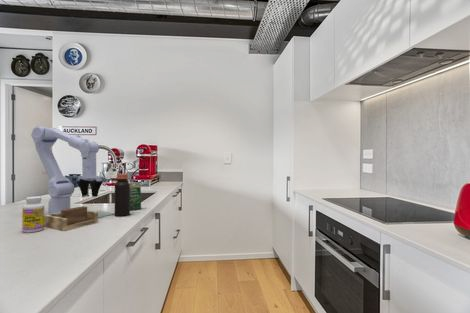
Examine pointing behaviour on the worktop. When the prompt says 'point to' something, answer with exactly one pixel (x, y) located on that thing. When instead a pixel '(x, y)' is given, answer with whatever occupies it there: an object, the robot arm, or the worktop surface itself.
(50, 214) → the grey offcut
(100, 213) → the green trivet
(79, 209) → the walnut board
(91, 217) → the oak rack
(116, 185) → the vinegar
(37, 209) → the supplement bottle
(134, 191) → the coffee box
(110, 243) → the worktop surface
